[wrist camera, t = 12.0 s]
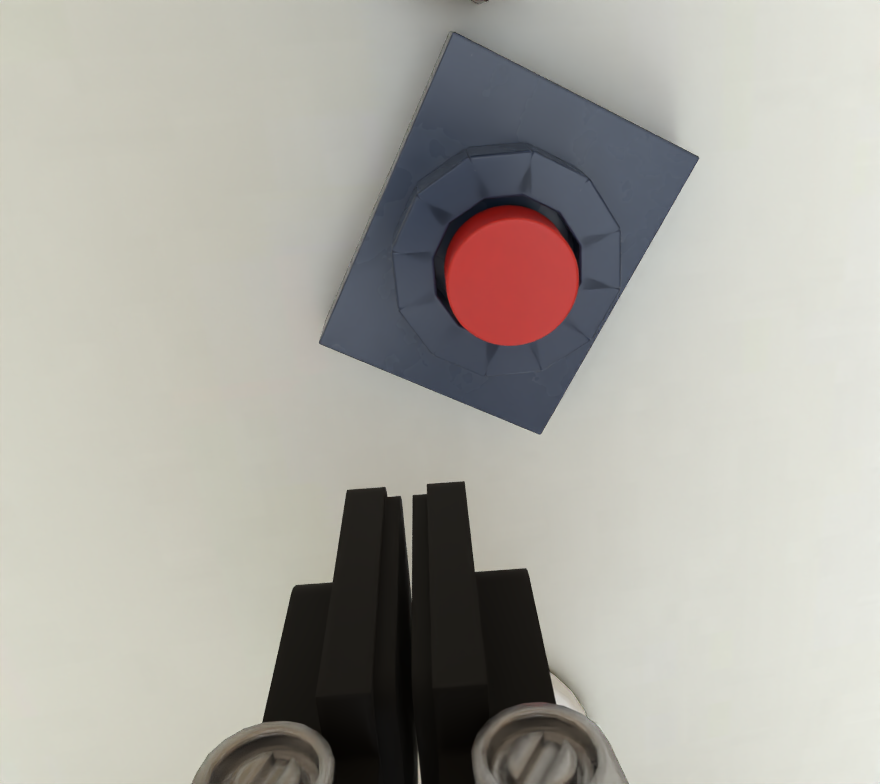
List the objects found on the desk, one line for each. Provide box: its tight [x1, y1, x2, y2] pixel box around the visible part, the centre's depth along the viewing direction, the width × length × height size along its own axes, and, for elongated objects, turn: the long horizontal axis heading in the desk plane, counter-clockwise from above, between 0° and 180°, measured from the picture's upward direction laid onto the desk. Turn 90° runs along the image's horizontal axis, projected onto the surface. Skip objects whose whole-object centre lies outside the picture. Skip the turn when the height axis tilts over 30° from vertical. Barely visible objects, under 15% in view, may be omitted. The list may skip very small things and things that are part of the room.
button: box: [444, 205, 579, 346], centre depth 23 cm, size 4×4×2 cm
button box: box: [319, 32, 699, 434], centre depth 25 cm, size 10×8×4 cm
